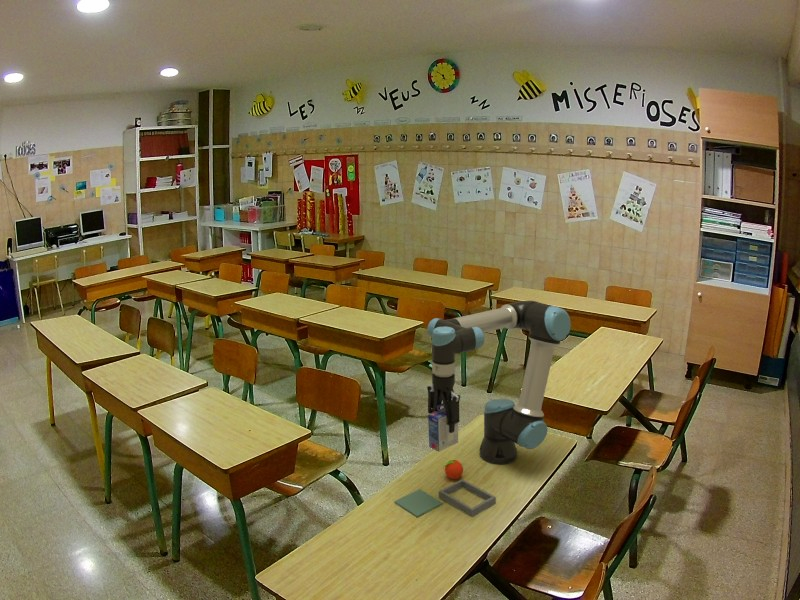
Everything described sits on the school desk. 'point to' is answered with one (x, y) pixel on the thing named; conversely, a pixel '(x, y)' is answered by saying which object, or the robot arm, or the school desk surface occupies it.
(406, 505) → the mat
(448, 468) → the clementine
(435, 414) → the ink cartridge box
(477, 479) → the school desk surface
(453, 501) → the grey rectangular frame
